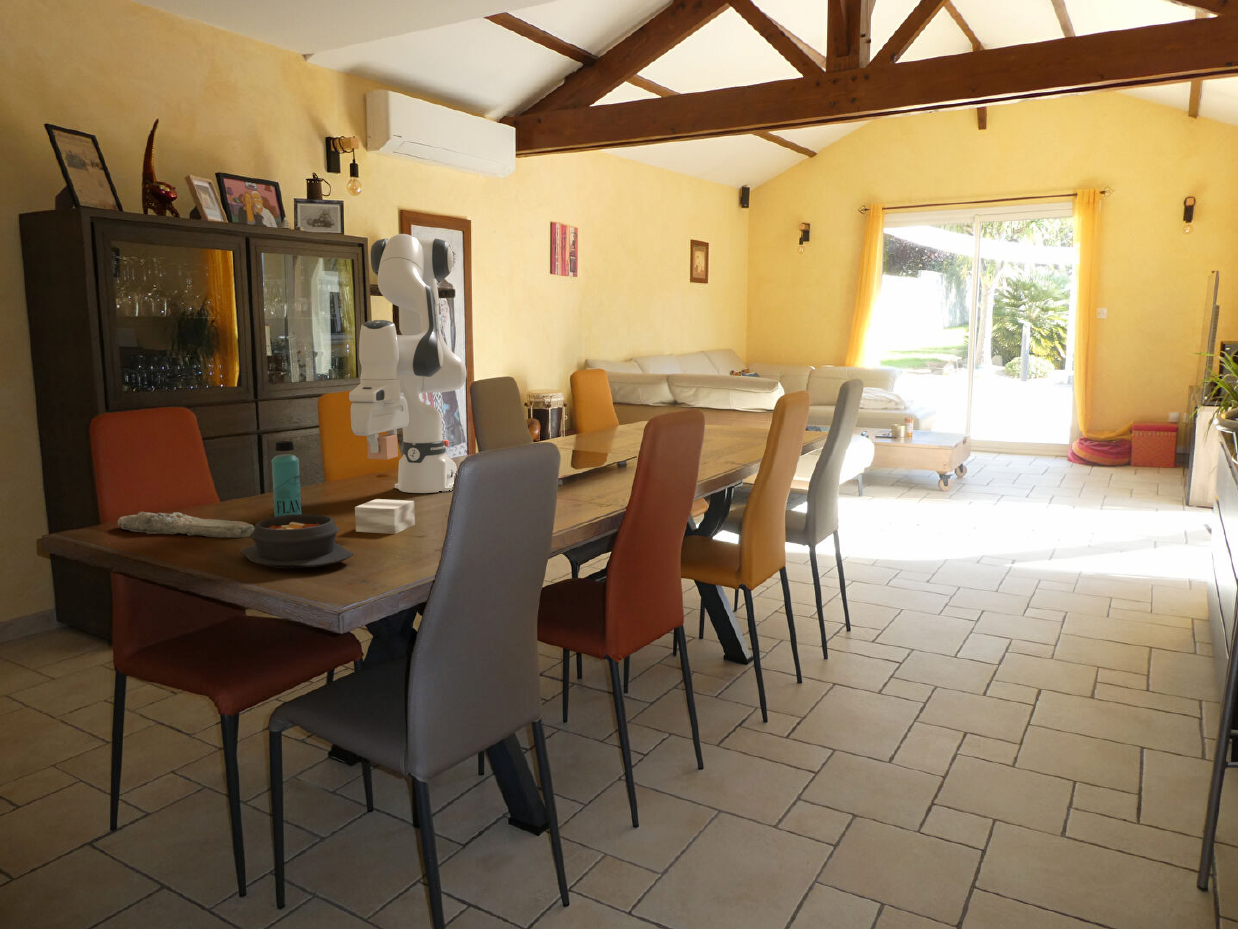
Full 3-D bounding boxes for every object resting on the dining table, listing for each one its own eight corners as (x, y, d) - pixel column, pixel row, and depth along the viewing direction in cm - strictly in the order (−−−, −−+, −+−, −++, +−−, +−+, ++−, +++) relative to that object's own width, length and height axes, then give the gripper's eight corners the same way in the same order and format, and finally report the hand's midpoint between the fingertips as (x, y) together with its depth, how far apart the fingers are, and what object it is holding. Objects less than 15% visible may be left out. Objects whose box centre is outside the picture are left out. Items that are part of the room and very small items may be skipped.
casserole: (375, 560, 185) (373, 520, 184) (301, 582, 169) (299, 538, 168) (293, 544, 198) (291, 506, 196) (217, 563, 182) (215, 522, 181)
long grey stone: (238, 548, 201) (265, 540, 210) (238, 525, 200) (265, 518, 210) (104, 531, 208) (136, 524, 218) (104, 508, 207) (137, 502, 217)
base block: (377, 523, 219) (376, 498, 218) (414, 525, 217) (414, 501, 216) (355, 532, 210) (354, 507, 209) (395, 534, 207) (394, 509, 206)
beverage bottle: (273, 527, 214) (268, 443, 211) (275, 521, 220) (270, 439, 217) (302, 525, 216) (297, 442, 212) (303, 519, 222) (299, 439, 219)
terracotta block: (378, 455, 214) (378, 434, 213) (397, 456, 212) (397, 435, 212) (367, 458, 209) (366, 437, 208) (387, 459, 208) (386, 437, 207)
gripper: (390, 388, 219) (392, 444, 221) (344, 394, 199) (347, 456, 202) (414, 388, 217) (416, 445, 220) (370, 395, 198) (372, 457, 200)
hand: (382, 450), depth 210 cm, fingers closed on terracotta block, 5 cm apart
